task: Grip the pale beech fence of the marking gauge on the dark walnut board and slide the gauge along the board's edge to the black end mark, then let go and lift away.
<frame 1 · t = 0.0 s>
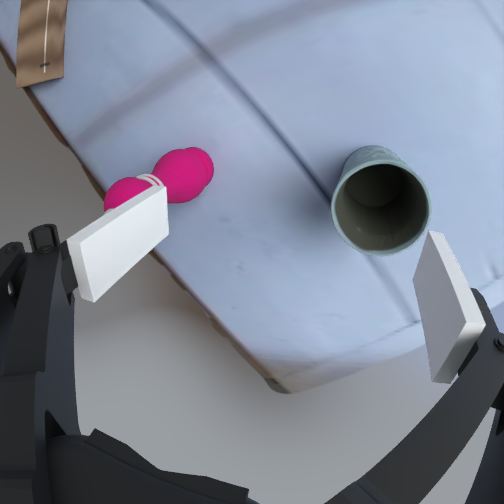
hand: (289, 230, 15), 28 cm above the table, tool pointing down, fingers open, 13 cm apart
walnut board: (46, 25, 39), on the table
pepper mill: (195, 167, 46), on the table
green ceramic cup: (373, 178, 39), on the table
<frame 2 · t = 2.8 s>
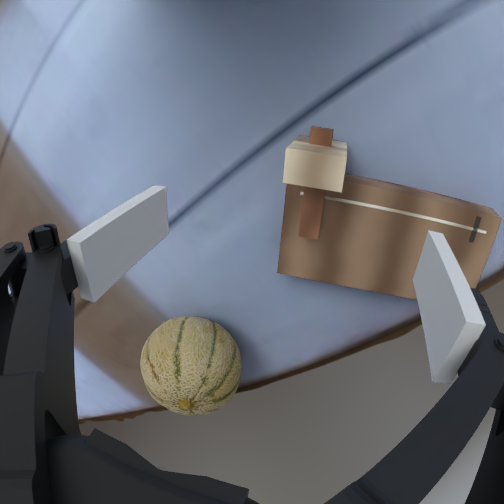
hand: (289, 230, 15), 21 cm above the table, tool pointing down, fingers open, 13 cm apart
walnut board: (389, 234, 35), on the table
marking gauge: (315, 185, 30), point 5 cm above the table, slide at 0.0 cm
cantaloupe: (210, 333, 51), on the table
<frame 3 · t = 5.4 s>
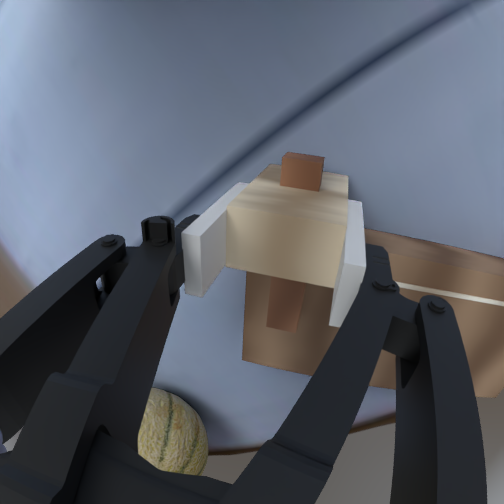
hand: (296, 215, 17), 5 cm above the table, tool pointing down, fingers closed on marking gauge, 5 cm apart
walnut board: (405, 310, 23), on the table
marking gauge: (291, 254, 18), point 4 cm above the table, slide at 0.0 cm, touching gripper
cantaloupe: (173, 400, 39), on the table
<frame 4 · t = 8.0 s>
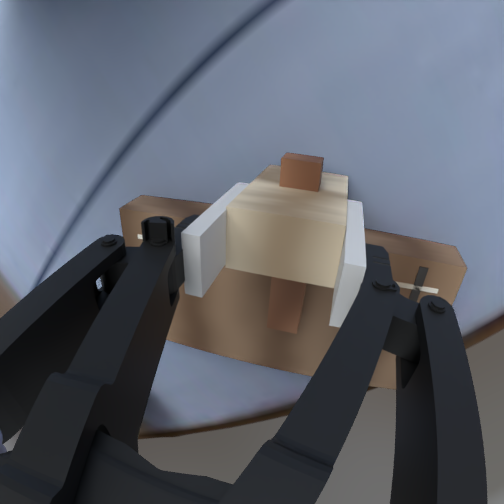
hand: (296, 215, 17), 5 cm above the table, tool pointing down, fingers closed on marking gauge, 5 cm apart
walnut board: (283, 287, 25), on the table
marking gauge: (291, 255, 18), point 4 cm above the table, slide at 9.9 cm, touching gripper
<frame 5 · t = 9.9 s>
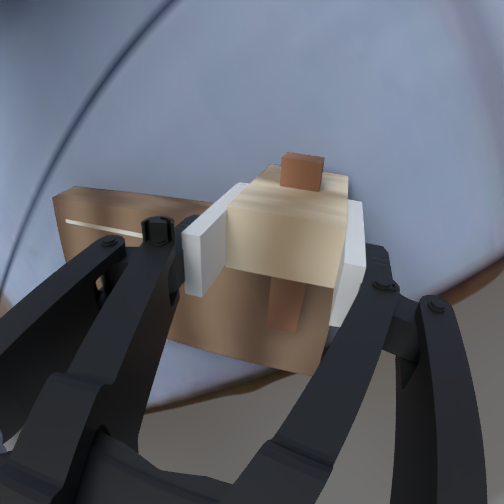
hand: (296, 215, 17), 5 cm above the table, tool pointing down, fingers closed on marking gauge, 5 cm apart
walnut board: (188, 267, 27), on the table
marking gauge: (291, 255, 18), point 5 cm above the table, slide at 17.8 cm, touching gripper
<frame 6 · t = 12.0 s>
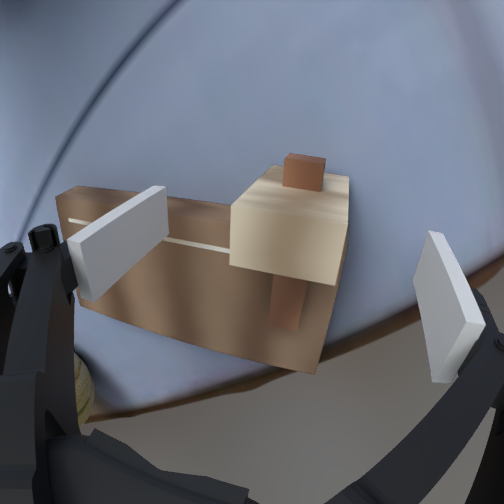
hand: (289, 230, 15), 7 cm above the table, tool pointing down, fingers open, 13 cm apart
walnut board: (189, 266, 27), on the table
marking gauge: (293, 253, 19), point 4 cm above the table, slide at 18.0 cm
cantaloupe: (75, 356, 43), on the table
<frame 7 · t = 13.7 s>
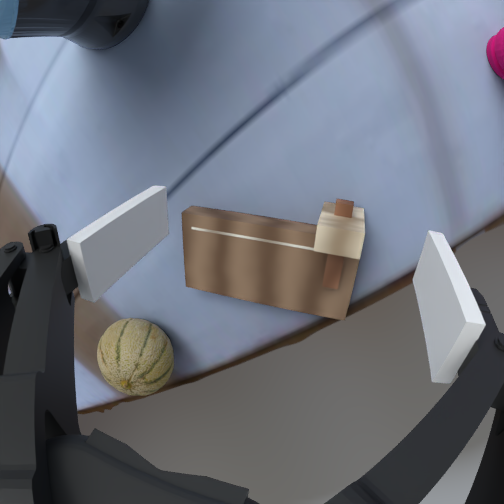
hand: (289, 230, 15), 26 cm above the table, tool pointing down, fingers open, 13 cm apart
walnut board: (270, 257, 46), on the table
marking gauge: (337, 247, 37), point 5 cm above the table, slide at 18.0 cm
cantaloupe: (154, 333, 62), on the table
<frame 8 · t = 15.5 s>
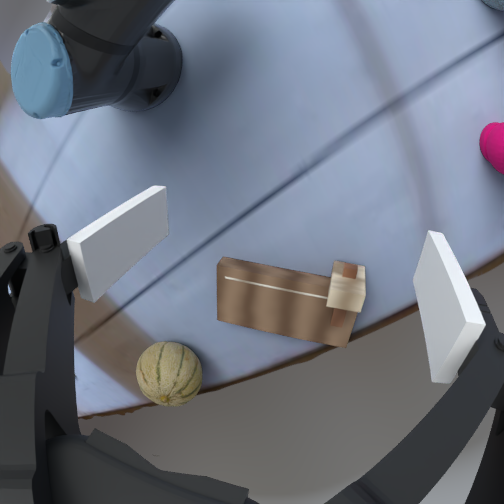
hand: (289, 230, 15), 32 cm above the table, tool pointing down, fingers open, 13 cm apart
walnut board: (287, 298, 56), on the table
pepper mill: (496, 143, 34), on the table
marking gauge: (343, 298, 48), point 4 cm above the table, slide at 18.0 cm
cantaloupe: (183, 351, 72), on the table
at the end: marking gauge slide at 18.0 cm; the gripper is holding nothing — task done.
